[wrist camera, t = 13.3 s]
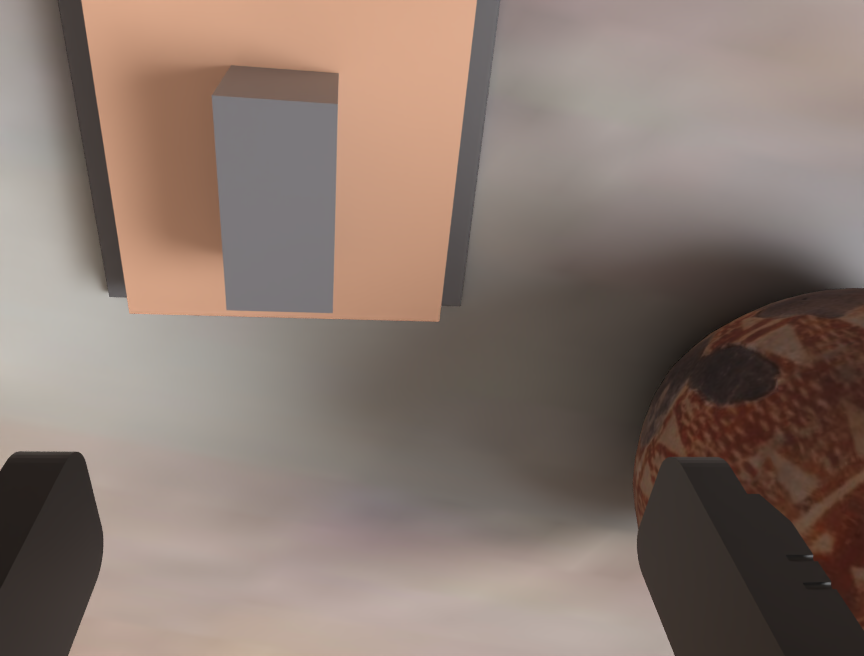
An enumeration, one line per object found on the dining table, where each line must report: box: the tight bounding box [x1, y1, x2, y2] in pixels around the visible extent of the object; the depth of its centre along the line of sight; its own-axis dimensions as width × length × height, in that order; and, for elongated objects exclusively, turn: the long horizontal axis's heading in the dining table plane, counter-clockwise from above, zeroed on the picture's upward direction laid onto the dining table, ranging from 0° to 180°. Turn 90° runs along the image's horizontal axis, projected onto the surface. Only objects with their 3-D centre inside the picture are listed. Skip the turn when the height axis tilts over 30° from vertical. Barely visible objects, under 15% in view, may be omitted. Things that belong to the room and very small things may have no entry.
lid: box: [81, 0, 477, 322], centre depth 28 cm, size 14×14×7 cm
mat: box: [58, 0, 500, 306], centre depth 31 cm, size 17×15×1 cm
